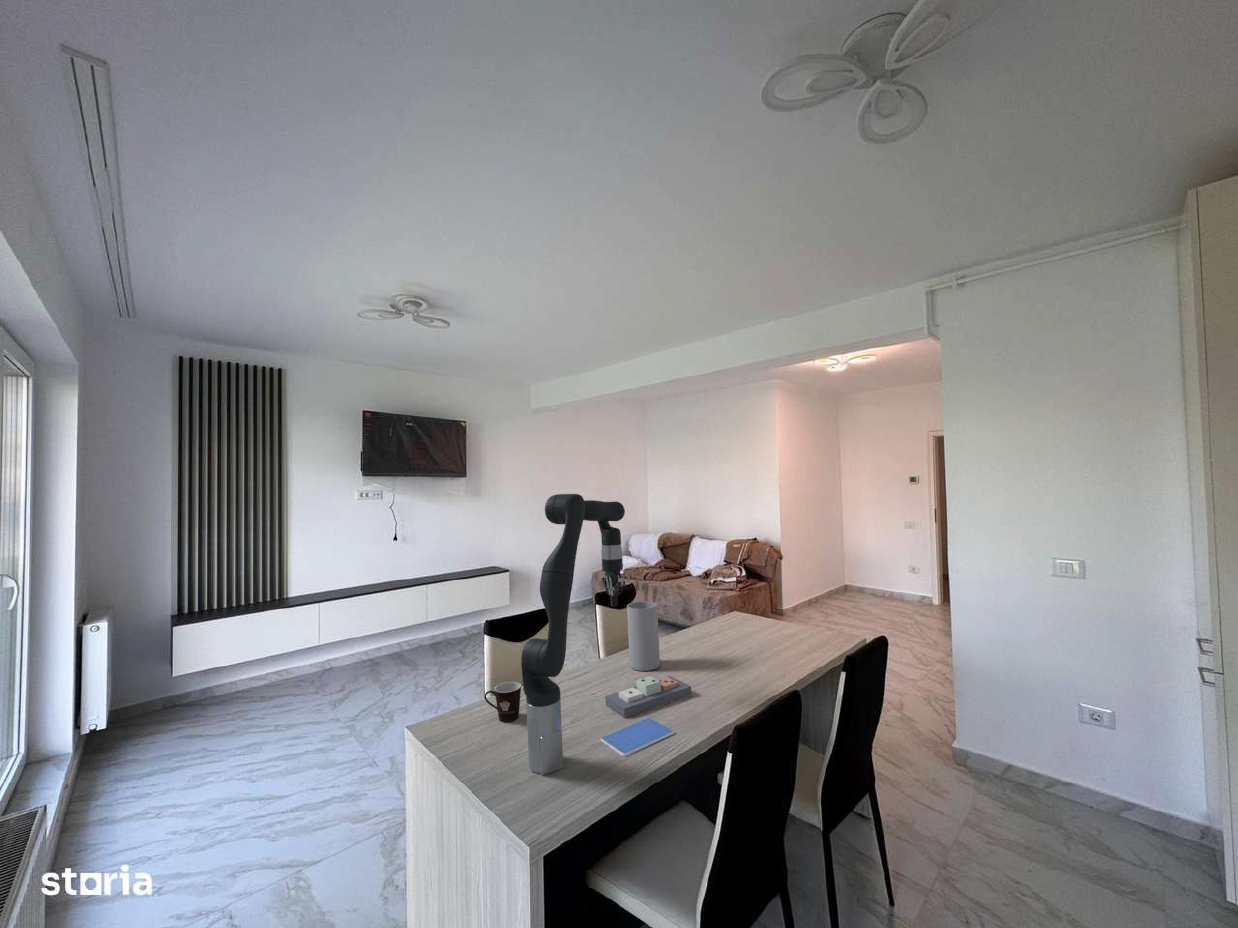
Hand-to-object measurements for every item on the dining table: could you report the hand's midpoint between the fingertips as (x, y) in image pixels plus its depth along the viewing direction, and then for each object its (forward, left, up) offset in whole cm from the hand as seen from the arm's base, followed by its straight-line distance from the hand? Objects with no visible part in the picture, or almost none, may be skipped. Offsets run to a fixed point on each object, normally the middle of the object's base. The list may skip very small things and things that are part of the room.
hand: (614, 605), depth 173 cm
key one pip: (-9, +1, -31) cm, 32 cm away
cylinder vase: (+18, -24, -32) cm, 44 cm away
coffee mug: (+10, +38, -32) cm, 51 cm away
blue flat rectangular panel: (-27, +10, -33) cm, 44 cm away
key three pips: (-9, -15, -31) cm, 35 cm away
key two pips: (-9, -7, -29) cm, 31 cm away
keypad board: (-9, -7, -32) cm, 34 cm away
